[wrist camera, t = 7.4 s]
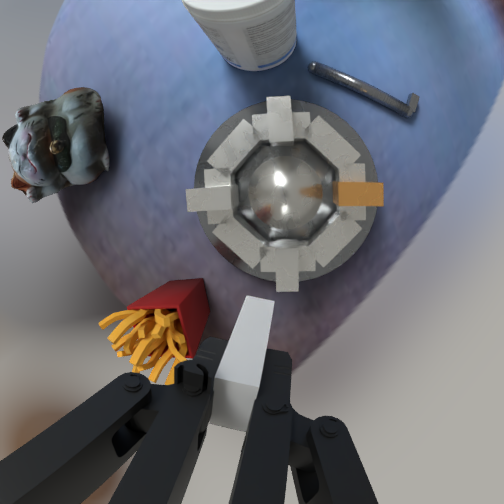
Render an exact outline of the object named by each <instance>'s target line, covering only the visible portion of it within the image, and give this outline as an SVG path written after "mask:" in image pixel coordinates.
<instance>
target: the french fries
mask: <svg viewBox="0 0 504 504" xmlns="http://www.w3.org/2000/svg"><path fill="white" fill-rule="evenodd" d="M127 309H128V310H126V311H120V312H116V313H113V314H111V315H110V316H108V317H106V318H105V319H104V320H102V321H101V322H100V323H99V325H100V327H101V328H102V329H105V328H106V327H107V326H108V325H110V324H111V323H113V322H115V321H117V320H121V319H124V320H123V321H122V322H121V323H120V324H119V325H118V326H117V327H116V328H115V330H114V331H113V332H112V333H111V334H110V336H109V337H108V339H109V340H110V341H111V342H112V343H113V345H112V347H113V349H114V350H115V351H117V350H119V349H120V348H121V347H122V346H123V345H124V347H123V349H124V351H119V352H117V355H118V357H122V356H128V355H132V354H133V355H132V357H131V359H130V361H129V362H130V363H131V364H133V365H134V366H133V370H132V372H134V373H140V371H143V370H146V369H150V368H152V367H154V368H153V370H152V372H151V374H150V376H149V378H148V379H149V380H151V381H153V382H155V383H156V381H157V379H158V377H159V374H160V373H161V371H162V369H163V368H164V366H165V365H166V364H167V362H168V361H169V360H170V359H171V358H172V357H175V361H174V363H173V365H172V368H171V370H170V373H169V375H168V377H167V379H166V382H165V385H170V384H174V367H175V366H176V365H177V364H178V363H180V362H182V361H186V360H187V359H186V358H194V356H195V354H196V351H197V348H198V345H199V342H200V339H201V336H202V334H203V331H204V328H205V325H206V322H207V319H208V316H209V313H210V308H209V304H208V299H207V295H206V290H205V286H204V281H203V278H198V279H187V280H174V281H169V282H167V283H166V284H164V285H162V286H160V287H159V288H157V289H155V290H154V291H152V292H150V293H149V294H147V295H145V296H144V297H142V298H140V299H139V300H137V301H135V302H134V303H132V304H130V305H129V306H127ZM125 318H126V319H125ZM132 326H133V327H134V329H133V330H132V331H131V332H130V334H127V335H125V336H123V334H125V332H126V331H127V330H128V329H129V328H131V327H132ZM122 336H123V337H122ZM121 337H122V338H121ZM120 338H121V339H120ZM137 339H138V340H137ZM147 356H151V358H150V360H149V361H148V363H146V364H143V362H144V360H145V358H146V357H147ZM160 357H161V358H160ZM159 358H160V359H159ZM142 364H143V365H142Z"/></svg>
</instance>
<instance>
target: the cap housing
mask: <svg viewBox="0 0 504 504" xmlns="http://www.w3.org/2000/svg"><path fill="white" fill-rule="evenodd" d="M291 110H292V112H310V123H312V122H313V121H314V119H315V118H316V117H317V116H318V115H319V116H320V117H321V118H322V119H323V120H324V121H325V122H327V123H328V124H329V125H330V126H331V127H332V128H333V129H334V130H335V131H337V132H338V133H339V134H340V135H341V136H342V137H343V138H344V139H345V140H346V141H347V142H348V143H349V144H350V145H351V146H352V147H353V148H354V149H355V150H356V151H357V152H358V153H359V154H360V155H361V156H360V157H359V158H358V159H357V160H356V161H355V162H354V163H359V164H365V182H378V179H377V173H376V169H375V165H374V162H373V160H372V157H371V155H370V152H369V150H368V149H367V147H366V145H365V144H364V142H363V140H362V139H361V138H360V136H359V135H358V134H357V133H356V131H355V130H354V129H353V128H352V127H351V126H350V125H349V124H348V123H347V122H345V121H344V120H343V119H342V118H340V117H339V116H338V115H336V114H334V113H333V112H331V111H329V110H327V109H325V108H323V107H321V106H318V105H315V104H312V103H309V102H305V101H299V100H291ZM257 114H267V101H265V102H261V103H258V104H255V105H252V106H250V107H247V108H245V109H243V110H241V111H239V112H238V113H236V114H235V115H233V116H231V117H230V118H229V119H228V120H226V121H225V122H224V123H223V124H222V125H221V126H220V127H219V128H218V129H217V130H216V131H215V132H214V133H213V135H212V136H211V138H210V139H209V141H208V142H207V144H206V146H205V148H204V150H203V152H202V153H201V156H200V159H199V162H198V165H197V169H196V174H195V182H194V188H200V187H205V178H204V170H205V169H215V168H214V167H213V166H212V165H211V164H209V163H208V162H207V160H208V159H209V158H210V157H211V155H212V154H213V153H214V152H215V151H216V150H217V148H218V147H219V146H220V145H221V144H222V143H223V141H224V140H225V139H226V138H227V137H228V136H229V135H230V133H231V132H232V131H233V130H234V129H235V128H236V127H237V126H238V125H239V123H240V122H241V121H242V120H243V119H244V120H246V121H247V122H248V123H249V124H250V125H252V115H257ZM252 126H253V125H252ZM235 179H236V185H238V194H239V206H237V210H238V214H239V215H240V216H241V217H242V218H243V219H244V220H245V221H246V222H247V223H249V224H250V225H251V226H252V227H253V228H254V229H255V230H256V231H257V232H258V233H260V234H261V235H262V236H263V237H264V238H265V239H266V240H267V241H277V240H278V239H298V240H309V239H310V238H311V237H312V236H313V235H314V234H315V233H316V232H317V231H318V230H319V229H320V227H321V226H322V225H323V224H324V223H325V222H326V221H327V220H328V219H329V218H330V217H331V216H332V215H333V214H334V213H335V212H336V204H335V203H333V186H332V181H336V178H335V169H334V168H333V167H331V166H330V165H329V164H328V163H327V162H326V161H325V160H324V159H323V158H322V157H321V156H320V155H319V154H318V153H317V152H315V151H314V150H313V149H312V148H311V147H310V146H309V145H308V144H307V143H306V142H304V141H298V142H294V146H272V145H271V144H270V143H262V144H261V145H260V146H259V147H258V149H257V150H256V151H255V152H254V153H253V154H252V155H251V156H250V157H249V159H248V160H247V161H246V162H245V163H244V164H243V165H242V166H241V168H240V169H239V170H238V171H237V172H236V173H235ZM376 211H377V206H366V220H355V221H356V222H357V223H358V224H359V226H360V227H361V228H362V229H361V230H360V231H359V233H358V234H357V235H356V236H355V237H354V238H353V239H352V240H351V241H350V242H349V243H348V244H347V245H346V246H345V247H344V248H343V249H342V250H341V251H340V252H339V253H338V254H337V255H336V256H335V257H334V258H333V259H332V260H331V261H330V262H329V263H328V264H327V265H326V266H325V267H322V266H321V265H320V264H319V263H318V262H317V261H316V264H315V271H299V281H305V280H309V279H313V278H317V277H319V276H322V275H324V274H327V273H329V272H331V271H332V270H334V269H336V268H338V267H339V266H340V265H342V264H343V263H344V262H346V261H347V260H348V259H349V258H350V257H351V256H352V255H353V254H354V253H355V252H356V251H357V250H358V248H359V247H360V246H361V245H362V243H363V242H364V240H365V239H366V237H367V235H368V234H369V231H370V229H371V227H372V224H373V222H374V218H375V215H376ZM197 214H198V217H199V220H200V223H201V225H202V228H203V230H204V232H205V234H206V235H207V237H208V239H209V240H210V242H211V243H212V245H213V246H214V247H215V248H216V249H217V251H218V252H219V253H220V254H221V255H222V256H223V257H224V258H225V259H227V260H228V261H229V262H230V263H232V264H233V265H234V266H236V267H237V268H239V269H241V270H243V271H244V272H246V273H248V274H251V275H253V276H256V277H258V278H262V279H266V280H270V281H276V272H261V264H260V262H259V263H258V264H257V265H256V266H255V267H254V268H253V269H252V268H251V267H250V266H249V265H248V264H247V263H246V262H245V261H243V260H242V259H241V258H240V257H239V256H238V255H237V254H236V253H235V252H233V251H232V250H231V249H230V248H229V247H228V246H227V245H226V244H225V243H223V242H222V241H221V240H220V239H219V238H218V237H217V236H216V235H215V234H213V233H212V232H213V231H214V229H215V228H216V227H217V226H218V225H219V224H208V217H207V211H197Z"/></svg>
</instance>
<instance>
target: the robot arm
mask: <svg viewBox="0 0 504 504" xmlns="http://www.w3.org/2000/svg"><path fill="white" fill-rule="evenodd" d="M274 302H275V301H271V300H266V299H261V298H257V297H252V296H246V298H245V301H244V304H243V306H242V309H241V311H240V314H239V317H238V319H237V322H236V324H235V327H234V329H233V332H232V334H231V337H230V340H229V341H227V340H223V339H218V338H214V337H209V338H207V339H206V340H204V341H203V342H202V343H201V345H200V347H199V349H198V351H197V353H196V355H195V356H194V358H193V360H186V361H182V362H180V363H178V364H177V365H176V366H175V367H174V384H170V385H157V384H151V383H150V381H149V379H148V378H146V377H145V376H144V375H142V374H140V373H134V372H130V373H124V374H122V375H120V376H118V377H117V378H116V379H114V380H113V381H112V382H110V383H109V384H108V385H106V386H105V387H104V388H102V389H101V390H100V391H98V392H97V393H95V394H94V395H93V396H91V397H90V398H89V399H87V400H86V401H85V402H83V403H82V404H81V405H79V406H78V407H76V408H75V409H74V410H72V411H71V412H69V413H68V414H67V415H65V416H64V417H62V418H61V419H60V420H58V421H57V422H56V423H54V424H53V425H51V426H50V427H49V428H47V429H46V430H44V431H43V432H42V433H40V434H39V435H37V436H36V437H35V438H33V439H32V440H30V441H29V442H27V443H26V444H24V445H23V446H22V447H20V448H19V449H17V450H16V451H14V452H13V453H11V454H10V455H9V456H7V457H6V458H4V459H3V460H1V461H0V504H81V503H82V502H83V501H84V500H85V499H87V498H88V497H89V496H90V495H91V494H92V493H93V492H94V491H95V490H96V489H98V488H99V486H101V485H102V484H103V483H104V482H105V481H106V480H107V479H108V478H109V477H110V476H111V475H112V474H113V473H114V472H116V471H117V470H118V469H119V468H120V467H121V466H122V465H123V464H124V463H125V462H126V461H127V460H128V459H129V458H130V457H131V456H132V455H133V454H134V453H135V452H136V451H137V452H136V454H135V456H134V458H133V459H132V461H131V463H130V465H129V467H128V469H127V471H126V472H125V474H124V476H123V478H122V480H121V481H120V483H119V485H118V487H117V489H116V491H115V492H114V494H113V496H112V498H111V500H110V502H109V503H108V504H181V503H182V500H183V497H184V494H185V492H186V489H187V486H188V484H189V481H190V478H191V475H192V473H193V470H194V467H195V464H196V462H197V459H198V456H199V453H200V450H201V448H202V445H203V442H204V439H205V436H206V432H207V426H208V423H209V420H210V424H214V425H218V426H222V427H226V428H230V429H235V430H239V431H244V432H246V436H245V440H244V443H243V446H242V450H241V456H240V460H239V464H238V468H237V473H236V477H235V481H234V485H233V489H232V493H231V497H230V500H229V504H284V500H285V491H286V481H287V471H288V465H290V466H291V471H292V475H293V480H294V484H295V488H296V493H297V497H298V501H299V504H378V502H377V499H376V497H375V494H374V492H373V489H372V487H371V484H370V482H369V480H368V477H367V475H366V472H365V470H364V467H363V465H362V462H361V460H360V458H359V455H358V453H357V450H356V448H355V446H354V443H353V441H352V438H351V436H350V434H349V431H348V429H347V427H346V426H345V424H344V423H343V422H342V421H341V420H339V419H338V418H335V417H332V416H322V417H318V418H317V419H315V420H311V419H309V418H306V417H304V416H302V415H300V414H298V413H297V412H296V411H295V410H294V409H293V408H292V406H291V404H290V389H291V371H292V370H291V369H292V359H291V357H290V356H289V354H288V352H283V351H278V350H272V349H267V343H268V337H269V331H270V325H271V320H272V314H273V308H274Z"/></svg>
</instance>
